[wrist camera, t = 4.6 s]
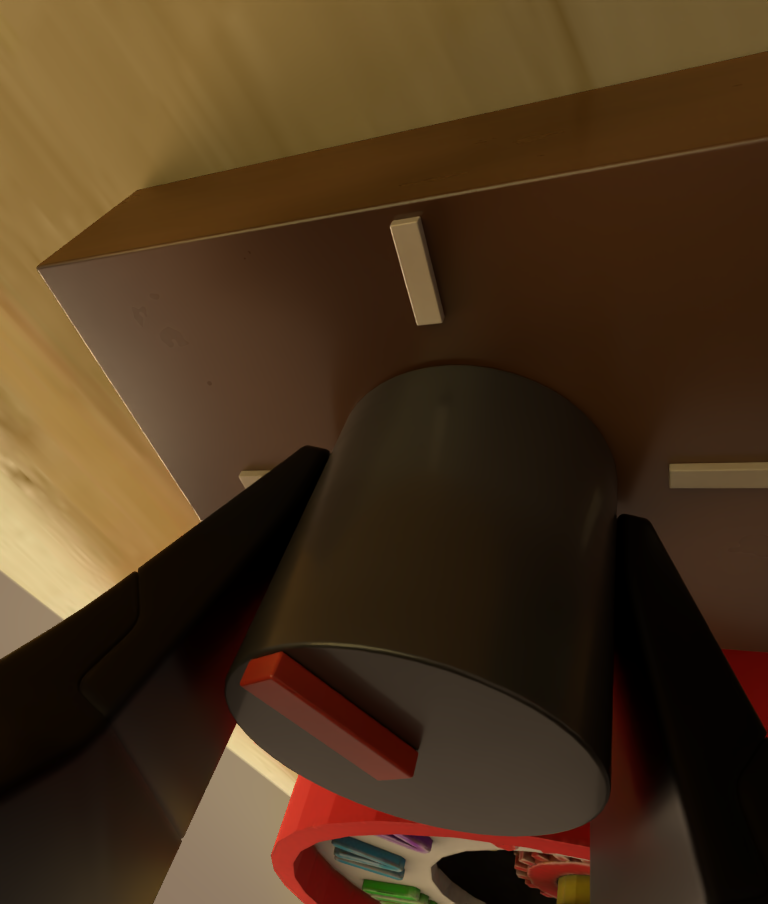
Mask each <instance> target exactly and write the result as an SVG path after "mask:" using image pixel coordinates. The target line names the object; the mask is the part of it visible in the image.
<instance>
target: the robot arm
mask: <svg viewBox="0 0 768 904" xmlns="http://www.w3.org/2000/svg"><path fill="white" fill-rule="evenodd" d="M330 455H331V454H330V451H329V450H327V449H324V448H320V447H315V446H310V445H306V446H303V447H301V448H300V449H299V450H297V451H296V452H295V453H293V454H292V455H291V456H289V457H288V458H287V459H285V460H284V461H282V462H281V463H280V464H278V465H277V466H276V467H274V468H273V469H272V470H270V471H269V472H268V473H266V474H265V475H264V476H262V477H261V478H260V479H258V480H257V481H256V482H254V483H253V484H251V485H250V486H249V487H247V488H246V489H245V490H243V491H242V492H241V493H239V494H238V495H237V496H235V497H234V498H233V499H231V500H230V501H229V502H227V503H226V504H224V505H223V506H222V507H220V508H219V509H218V510H216V511H215V512H214V513H212V514H211V515H210V516H208V517H207V518H206V519H204V520H203V521H202V522H200V523H199V524H198V525H196V526H195V527H193V528H192V529H191V530H189V531H188V532H187V533H185V534H184V535H183V536H181V537H180V538H179V539H177V540H176V541H175V542H173V543H172V544H171V545H169V546H168V547H166V548H165V549H164V550H162V551H161V552H160V553H158V554H157V555H156V556H154V557H153V558H152V559H150V560H149V561H148V562H146V563H145V564H144V565H142V566H141V567H140V568H139V569H138V572H132V573H131V574H130V575H128V576H127V577H126V578H124V579H123V580H122V581H120V582H119V583H118V584H116V585H115V586H114V587H112V588H111V589H109V590H108V591H106V592H105V593H104V594H102V595H101V596H99V597H98V598H96V599H95V600H94V601H92V602H91V603H89V604H88V605H87V606H85V607H84V608H82V609H81V610H79V611H77V612H76V613H74V614H73V615H71V616H70V617H68V618H66V619H65V620H63V621H62V622H61V623H59V624H57V625H56V626H54V627H52V628H51V629H49V630H48V631H46V632H44V633H43V634H41V635H40V636H38V637H36V638H34V639H33V640H31V641H30V642H28V643H26V644H25V645H23V646H21V647H20V648H18V649H17V650H15V651H13V652H12V653H10V654H8V655H7V656H5V657H3V658H2V659H0V904H153V903H154V900H155V898H156V896H157V894H158V891H159V890H160V887H161V885H162V883H163V881H164V879H165V877H166V874H167V872H168V870H169V868H170V866H171V864H172V861H173V859H174V857H175V855H176V853H177V851H178V849H179V846H180V844H181V842H182V841H181V838H183V837H184V835H185V833H186V831H187V829H188V827H189V825H190V822H191V820H192V818H193V816H194V814H195V812H196V809H197V807H198V805H199V803H200V801H201V799H202V797H203V794H204V792H205V790H206V788H207V786H208V784H209V781H210V779H211V777H212V775H213V773H214V771H215V769H216V767H217V764H218V762H219V760H220V758H221V756H222V754H223V752H224V749H225V747H226V745H227V743H228V741H229V739H230V736H231V734H232V732H233V730H234V728H235V726H236V724H237V722H236V720H235V719H234V717H233V716H232V714H231V713H230V710H229V708H228V706H227V703H226V699H225V694H224V687H225V678H226V676H227V674H228V672H229V669H230V667H231V665H232V663H233V661H234V659H235V657H236V654H237V652H238V650H239V648H240V646H241V644H242V642H243V640H244V637H245V635H246V633H247V631H248V629H249V627H250V625H251V623H252V620H253V618H254V616H255V614H256V612H257V610H258V608H259V606H260V603H261V601H262V599H263V597H264V595H265V593H266V591H267V589H268V586H269V584H270V582H271V580H272V578H273V576H274V574H275V572H276V569H277V567H278V565H279V563H280V561H281V559H282V557H283V555H284V552H285V550H286V548H287V546H288V544H289V542H290V540H291V538H292V535H293V533H294V531H295V529H296V527H297V525H298V523H299V521H300V518H301V516H302V514H303V512H304V510H305V508H306V506H307V504H308V501H309V499H310V497H311V495H312V493H313V491H314V489H315V487H316V484H317V482H318V480H319V478H320V476H321V474H322V472H323V470H324V467H325V465H326V463H327V461H328V459H329V457H330ZM766 735H767V731H766V729H765V727H764V726H763V724H762V722H761V720H760V718H759V717H758V715H757V713H756V711H755V709H754V708H753V706H752V704H751V702H750V700H749V699H748V697H747V695H746V693H745V691H744V690H743V688H742V686H741V684H740V682H739V681H738V679H737V677H736V675H735V673H734V671H733V670H732V668H731V666H730V664H729V662H728V661H727V659H726V657H725V655H724V653H723V652H722V650H721V648H720V646H719V644H718V643H717V641H716V639H715V637H714V635H713V634H712V632H711V630H710V628H709V626H708V625H707V623H706V621H705V619H704V617H703V616H702V614H701V612H700V610H699V608H698V606H697V605H696V603H695V601H694V599H693V597H692V596H691V594H690V592H689V590H688V588H687V587H686V585H685V583H684V581H683V579H682V578H681V576H680V574H679V572H678V570H677V569H676V567H675V565H674V563H673V561H672V560H671V558H670V556H669V554H668V552H667V551H666V549H665V547H664V545H663V543H662V541H661V540H660V538H659V536H658V534H657V532H656V531H655V529H654V527H653V525H652V524H651V522H650V521H649V520H648V519H646V518H643V517H638V516H634V515H629V514H620V515H619V516H618V518H617V535H616V583H615V631H614V679H613V727H612V775H611V792H610V798H609V800H608V802H607V804H606V806H605V807H604V809H603V811H602V812H601V813H600V814H599V815H598V816H597V817H596V818H595V819H593V820H591V821H590V904H768V737H766Z"/></svg>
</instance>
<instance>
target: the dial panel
mask: <svg viewBox="0 0 768 904" xmlns="http://www.w3.org/2000/svg"><path fill="white" fill-rule="evenodd" d="M37 271H38V272H39V274H40V275H41V277H42V278H43V280H44V281H45V283H46V284H47V286H48V287H49V289H50V290H51V292H52V294H53V295H54V297H55V298H56V300H57V301H58V303H59V304H60V306H61V307H62V309H63V310H64V312H65V313H66V315H67V317H68V318H69V320H70V321H71V323H72V324H73V326H74V327H75V329H76V330H77V332H78V333H79V335H80V336H81V338H82V340H83V341H84V343H85V344H86V346H87V347H88V349H89V350H90V352H91V353H92V355H93V356H94V358H95V359H96V361H97V363H98V364H99V366H100V367H101V369H102V370H103V372H104V373H105V375H106V376H107V378H108V379H109V381H110V382H111V384H112V386H113V387H114V389H115V390H116V392H117V393H118V395H119V396H120V398H121V399H122V401H123V402H124V404H125V405H126V407H127V409H128V410H129V412H130V413H131V415H132V416H133V418H134V419H135V421H136V422H137V424H138V425H139V427H140V428H141V430H142V432H143V433H144V435H145V436H146V438H147V439H148V441H149V442H150V444H151V445H152V447H153V448H154V450H155V451H156V453H157V455H158V456H159V458H160V459H161V461H162V462H163V464H164V465H165V467H166V468H167V470H168V471H169V473H170V474H171V476H172V478H173V479H174V481H175V482H176V484H177V485H178V487H179V488H180V490H181V491H182V493H183V494H184V496H185V497H186V499H187V501H188V502H189V504H190V505H191V507H192V508H193V510H194V511H195V513H196V514H197V516H198V517H199V519H200V520H201V522H202V521H203V520H204V519H206V518H207V517H208V516H210V515H211V514H212V513H214V512H215V511H216V510H218V509H219V508H220V507H222V506H223V505H224V504H226V503H227V502H229V501H230V500H231V499H233V498H234V497H235V496H237V495H238V494H239V493H241V492H242V491H243V490H245V489H246V488H247V487H249V486H250V485H251V484H253V483H254V482H256V481H257V480H258V479H260V478H261V477H262V476H264V475H265V474H266V473H268V472H269V471H270V470H272V469H273V468H274V467H276V466H277V465H278V464H280V463H281V462H282V461H284V460H285V459H287V458H288V457H289V456H291V455H292V454H293V453H295V452H296V451H297V450H299V449H300V448H301V447H303V446H306V445H310V446H315V447H320V448H324V449H327V450H329V451H330V454H331V453H332V450H333V448H334V446H335V444H336V442H337V440H338V438H339V435H340V433H341V431H342V429H343V427H344V425H345V423H346V421H347V418H348V416H349V414H350V413H351V412H352V410H353V409H354V407H355V406H356V404H357V403H358V402H359V401H360V400H361V399H362V398H363V397H364V396H365V395H366V394H367V393H369V392H370V391H372V390H373V389H374V388H376V387H377V386H379V385H380V384H382V383H384V382H386V381H388V380H390V379H392V378H394V377H395V376H398V375H401V374H404V373H407V372H410V371H413V370H417V369H422V368H427V367H433V366H444V365H472V366H479V367H487V368H493V369H497V370H502V371H506V372H510V373H514V374H516V375H519V376H522V377H525V378H528V379H530V380H533V381H535V382H537V383H539V384H541V385H543V386H545V387H547V388H549V389H551V390H553V391H554V392H556V393H558V394H559V395H561V396H562V397H564V398H566V399H567V400H568V401H570V402H571V403H572V404H573V405H575V406H576V407H577V408H578V409H579V410H581V411H582V412H583V413H584V414H585V415H586V416H587V417H588V418H589V420H590V421H591V422H592V423H593V424H594V425H595V426H596V428H597V429H598V431H599V432H600V433H601V435H602V436H603V438H604V439H605V441H606V443H607V445H608V447H609V449H610V451H611V453H612V456H613V459H614V463H615V466H616V471H617V482H618V487H617V518H618V516H619V515H620V514H629V515H634V516H638V517H643V518H646V519H648V520H649V521H650V522H651V524H652V525H653V527H654V529H655V531H656V532H657V534H658V536H659V538H660V540H661V541H662V543H663V545H664V547H665V549H666V551H667V552H668V554H669V556H670V558H671V560H672V561H673V563H674V565H675V567H676V569H677V570H678V572H679V574H680V576H681V578H682V579H683V581H684V583H685V585H686V587H687V588H688V590H689V592H690V594H691V596H692V597H693V599H694V601H695V603H696V605H697V606H698V608H699V610H700V612H701V614H702V616H703V617H704V619H705V621H706V623H707V625H708V626H709V628H710V630H711V632H712V634H713V635H714V637H715V639H716V641H717V643H718V644H719V646H720V648H721V649H729V650H741V651H754V652H767V653H768V51H766V52H762V53H757V54H753V55H748V56H744V57H739V58H735V59H730V60H726V61H721V62H716V63H712V64H707V65H703V66H698V67H694V68H689V69H685V70H680V71H676V72H671V73H667V74H662V75H657V76H653V77H648V78H644V79H639V80H635V81H630V82H626V83H621V84H617V85H612V86H608V87H603V88H598V89H594V90H589V91H585V92H580V93H576V94H571V95H567V96H562V97H558V98H553V99H549V100H544V101H540V102H535V103H530V104H526V105H521V106H517V107H512V108H508V109H503V110H499V111H494V112H490V113H485V114H481V115H476V116H471V117H467V118H462V119H458V120H453V121H449V122H444V123H440V124H435V125H431V126H426V127H422V128H417V129H413V130H408V131H403V132H399V133H394V134H390V135H385V136H381V137H376V138H372V139H367V140H363V141H358V142H354V143H349V144H344V145H340V146H335V147H331V148H326V149H322V150H317V151H313V152H308V153H304V154H299V155H295V156H290V157H286V158H281V159H276V160H272V161H267V162H263V163H258V164H254V165H249V166H245V167H240V168H236V169H231V170H227V171H222V172H217V173H213V174H208V175H204V176H199V177H195V178H190V179H186V180H181V181H177V182H172V183H168V184H163V185H159V186H154V187H149V188H145V189H140V190H137V191H135V192H134V193H133V194H131V195H130V196H129V197H127V198H126V199H125V200H124V201H122V202H121V203H120V204H118V205H117V206H116V207H114V208H113V209H112V210H110V211H109V212H108V213H106V214H105V215H104V216H102V217H101V218H100V219H98V220H97V221H96V222H95V223H93V224H92V225H91V226H89V227H88V228H87V229H85V230H84V231H83V232H81V233H80V234H79V235H77V236H76V237H75V238H73V239H72V240H71V241H70V242H68V243H67V244H66V245H64V246H63V247H62V248H60V249H59V250H58V251H56V252H55V253H54V254H52V255H51V256H50V257H48V258H47V259H46V260H45V261H43V262H42V263H41V264H39V265H38V266H37Z"/></svg>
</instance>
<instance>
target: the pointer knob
mask: <svg viewBox="0 0 768 904" xmlns="http://www.w3.org/2000/svg"><path fill="white" fill-rule="evenodd" d="M617 487H618V482H617V471H616V466H615V463H614V459H613V456H612V453H611V451H610V449H609V447H608V445H607V443H606V441H605V439H604V438H603V436H602V435H601V433H600V432H599V431H598V429H597V428H596V426H595V425H594V424H593V423H592V422H591V421H590V420H589V418H588V417H587V416H586V415H585V414H584V413H583V412H582V411H581V410H579V409H578V408H577V407H576V406H575V405H573V404H572V403H571V402H570V401H568V400H567V399H566V398H564V397H562V396H561V395H559V394H558V393H556V392H554V391H553V390H551V389H549V388H547V387H545V386H543V385H541V384H539V383H537V382H535V381H533V380H530V379H528V378H525V377H522V376H519V375H516V374H514V373H510V372H506V371H502V370H497V369H493V368H487V367H479V366H472V365H444V366H433V367H427V368H422V369H417V370H413V371H410V372H407V373H404V374H401V375H398V376H395V377H394V378H392V379H390V380H388V381H386V382H384V383H382V384H380V385H379V386H377V387H376V388H374V389H373V390H372V391H370V392H369V393H367V394H366V395H365V396H364V397H363V398H362V399H361V400H360V401H359V402H358V403H357V404H356V406H355V407H354V409H353V410H352V412H351V413H350V414H349V416H348V418H347V421H346V423H345V425H344V427H343V429H342V431H341V433H340V435H339V438H338V440H337V442H336V444H335V446H334V448H333V450H332V453H331V455H330V457H329V459H328V461H327V463H326V465H325V467H324V470H323V472H322V474H321V476H320V478H319V480H318V482H317V484H316V487H315V489H314V491H313V493H312V495H311V497H310V499H309V501H308V504H307V506H306V508H305V510H304V512H303V514H302V516H301V518H300V521H299V523H298V525H297V527H296V529H295V531H294V533H293V535H292V538H291V540H290V542H289V544H288V546H287V548H286V550H285V552H284V555H283V557H282V559H281V561H280V563H279V565H278V567H277V569H276V572H275V574H274V576H273V578H272V580H271V582H270V584H269V586H268V589H267V591H266V593H265V595H264V597H263V599H262V601H261V603H260V606H259V608H258V610H257V612H256V614H255V616H254V618H253V620H252V623H251V625H250V627H249V629H248V631H247V633H246V635H245V637H244V640H243V642H242V644H241V646H240V648H239V650H238V652H237V654H236V657H235V659H234V661H233V663H232V665H231V667H230V669H229V672H228V674H227V676H226V678H225V687H224V694H225V699H226V703H227V706H228V708H229V710H230V713H231V714H232V716H233V717H234V719H235V720H236V722H237V724H238V725H239V726H240V727H241V728H242V730H243V731H244V732H245V733H246V734H247V735H248V736H249V737H250V738H251V739H252V740H253V741H254V742H255V743H256V744H257V745H258V746H259V747H261V748H262V749H263V750H264V751H266V752H267V753H268V754H269V755H271V756H272V757H273V758H275V759H276V760H278V761H279V762H280V763H282V764H283V765H285V766H286V767H288V768H289V769H291V770H292V771H294V772H296V773H297V774H299V775H301V776H302V777H304V778H306V779H308V780H310V781H311V782H313V783H315V784H317V785H319V786H321V787H323V788H325V789H327V790H329V791H331V792H333V793H335V794H337V795H340V796H342V797H344V798H347V799H349V800H351V801H354V802H356V803H359V804H361V805H364V806H367V807H369V808H372V809H375V810H377V811H380V812H384V813H387V814H390V815H393V816H396V817H399V818H403V819H406V820H410V821H413V822H417V823H421V824H425V825H429V826H434V827H438V828H443V829H448V830H454V831H459V832H466V833H473V834H482V835H493V836H515V837H517V836H539V835H548V834H555V833H560V832H564V831H569V830H572V829H574V828H577V827H580V826H583V825H584V824H586V823H588V822H590V821H591V820H593V819H595V818H596V817H597V816H598V815H599V814H600V813H601V812H602V811H603V809H604V807H605V806H606V804H607V802H608V800H609V798H610V792H611V775H612V727H613V679H614V631H615V583H616V535H617Z"/></svg>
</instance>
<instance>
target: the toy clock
mask: <svg viewBox="0 0 768 904" xmlns="http://www.w3.org/2000/svg"><path fill="white" fill-rule="evenodd" d="M721 650H722V652H723V653H724V655H725V657H726V659H727V661H728V662H729V664H730V666H731V668H732V670H733V671H734V673H735V675H736V677H737V679H738V681H739V682H740V684H741V686H742V688H743V690H744V691H745V693H746V695H747V697H748V699H749V700H750V702H751V704H752V706H753V708H754V709H755V711H756V713H757V715H758V717H759V718H760V720H761V722H762V724H763V726H764V727H765V729H766V731H767V735H766V737H768V653H767V652H754V651H741V650H729V649H721ZM271 858H272V863H273V867H274V871H275V872H276V874H277V875H278V876H279V878H280V879H281V881H282V882H283V883H284V885H285V886H286V887H287V888H288V889H289V890H290V891H291V892H292V893H293V894H294V895H295V896H297V897H298V898H299V899H300V900H301V901H302V902H303V903H304V904H590V822H588V823H586V824H584V825H583V826H580V827H577V828H574V829H572V830H569V831H564V832H560V833H555V834H548V835H539V836H517V837H515V836H493V835H482V834H473V833H466V832H459V831H454V830H448V829H443V828H438V827H434V826H429V825H425V824H421V823H417V822H413V821H410V820H406V819H403V818H399V817H396V816H393V815H390V814H387V813H384V812H380V811H377V810H375V809H372V808H369V807H367V806H364V805H361V804H359V803H356V802H354V801H351V800H349V799H347V798H344V797H342V796H340V795H337V794H335V793H333V792H331V791H329V790H327V789H325V788H323V787H321V786H319V785H317V784H315V783H313V782H311V781H310V780H308V779H306V778H304V777H302V776H301V775H298V778H297V781H296V783H295V786H294V789H293V792H292V795H291V798H290V801H289V804H288V807H287V810H286V813H285V816H284V819H283V821H282V824H281V827H280V830H279V833H278V836H277V839H276V842H275V845H274V848H273V851H272V854H271Z"/></svg>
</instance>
